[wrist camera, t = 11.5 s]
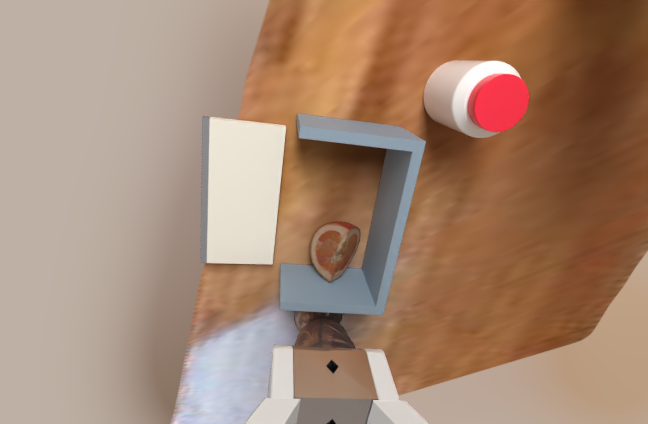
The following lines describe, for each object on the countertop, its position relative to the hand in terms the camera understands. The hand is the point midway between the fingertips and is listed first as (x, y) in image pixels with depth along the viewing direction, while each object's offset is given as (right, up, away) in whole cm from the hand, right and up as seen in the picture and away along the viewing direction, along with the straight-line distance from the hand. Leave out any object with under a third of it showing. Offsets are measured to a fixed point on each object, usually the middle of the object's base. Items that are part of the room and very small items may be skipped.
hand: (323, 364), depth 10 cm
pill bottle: (+16, +19, +35) cm, 43 cm away
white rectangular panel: (-6, +6, +38) cm, 39 cm away
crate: (+1, +5, +39) cm, 40 cm away
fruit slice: (+1, 0, +42) cm, 42 cm away
